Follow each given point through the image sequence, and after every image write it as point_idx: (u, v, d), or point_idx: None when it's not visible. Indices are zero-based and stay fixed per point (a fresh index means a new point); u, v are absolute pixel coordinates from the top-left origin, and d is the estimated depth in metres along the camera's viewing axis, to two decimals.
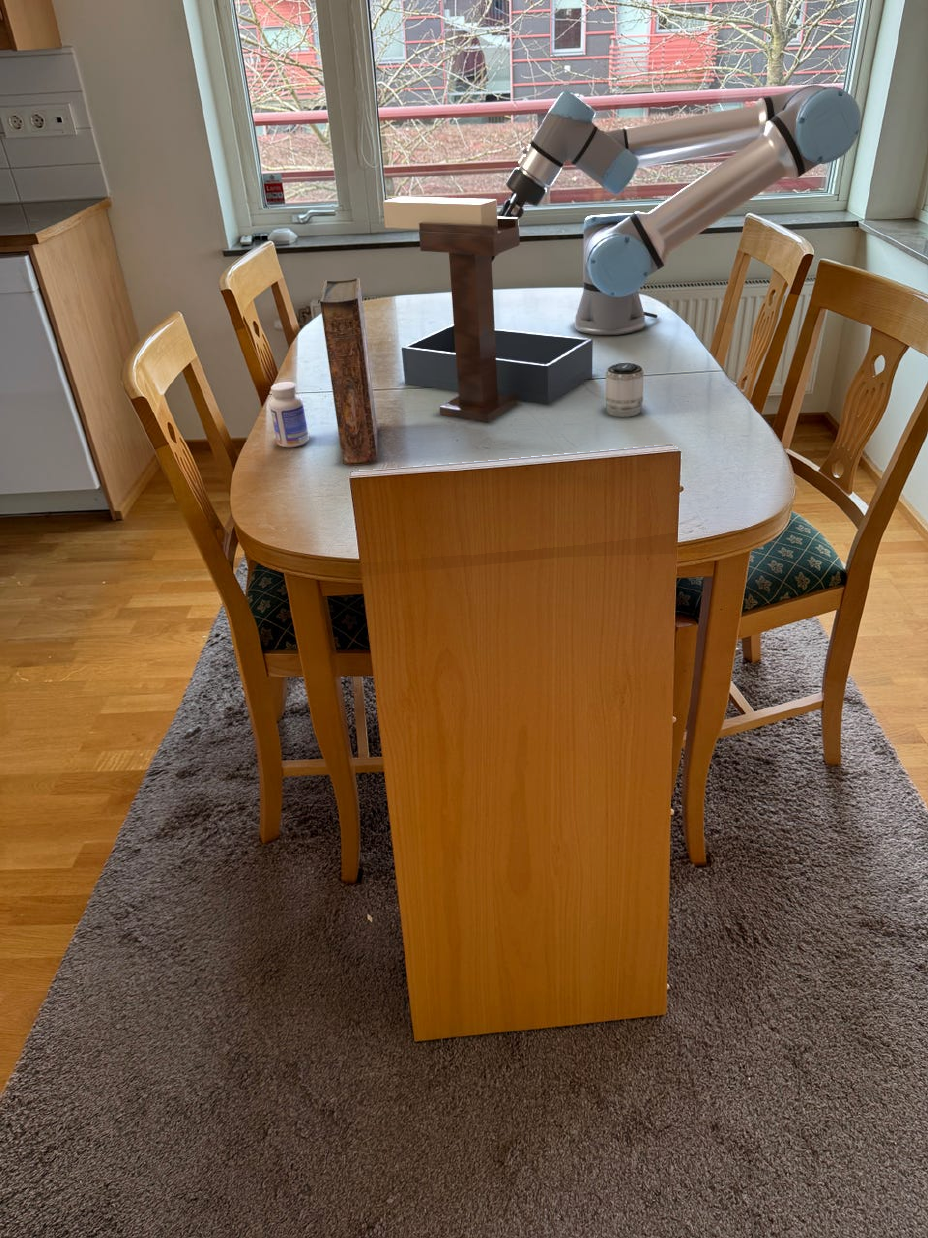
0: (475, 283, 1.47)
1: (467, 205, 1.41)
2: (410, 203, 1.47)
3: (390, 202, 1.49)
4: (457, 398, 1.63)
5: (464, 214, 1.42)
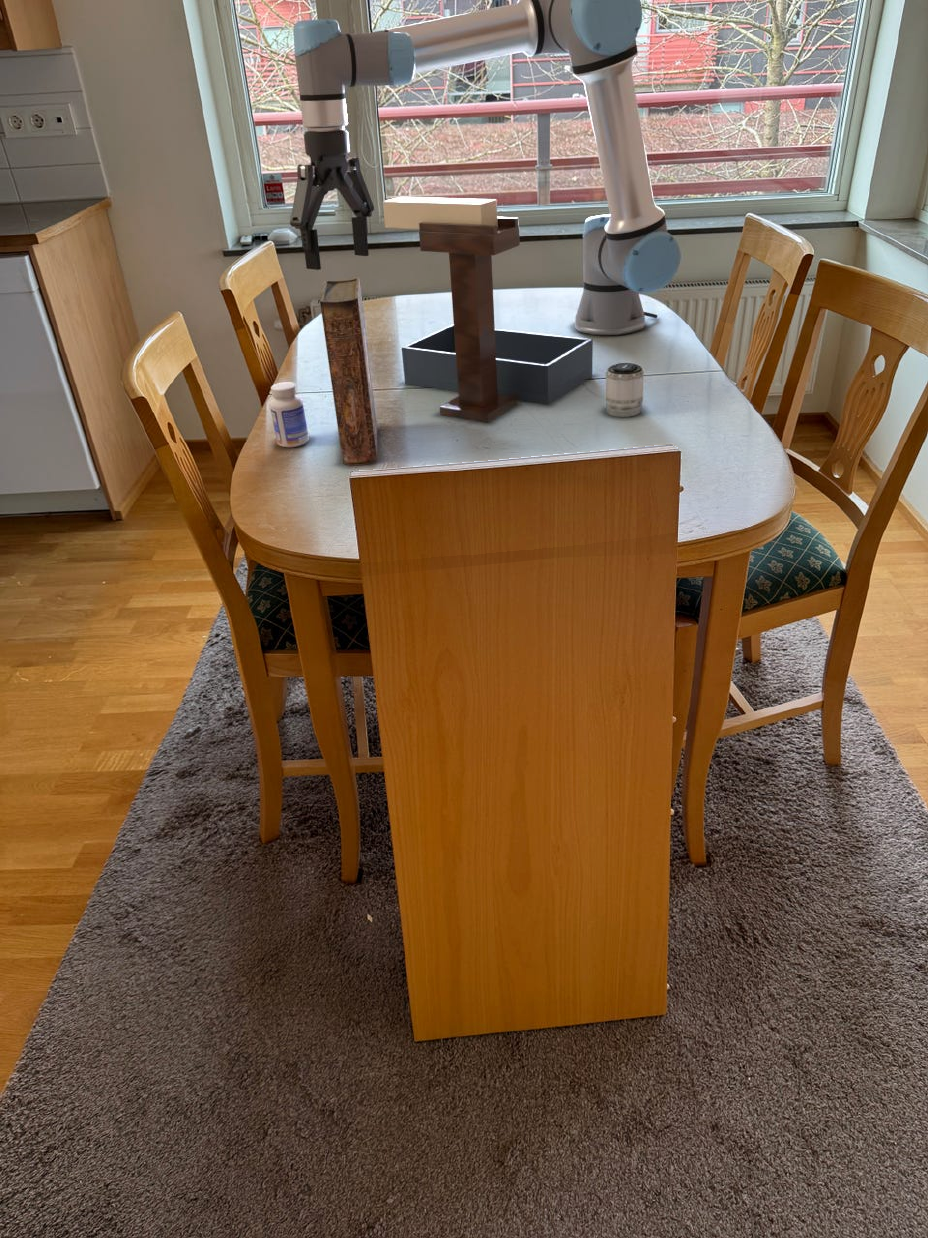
0: (475, 283, 1.47)
1: (467, 205, 1.41)
2: (410, 203, 1.47)
3: (390, 202, 1.49)
4: (457, 398, 1.63)
5: (464, 214, 1.42)
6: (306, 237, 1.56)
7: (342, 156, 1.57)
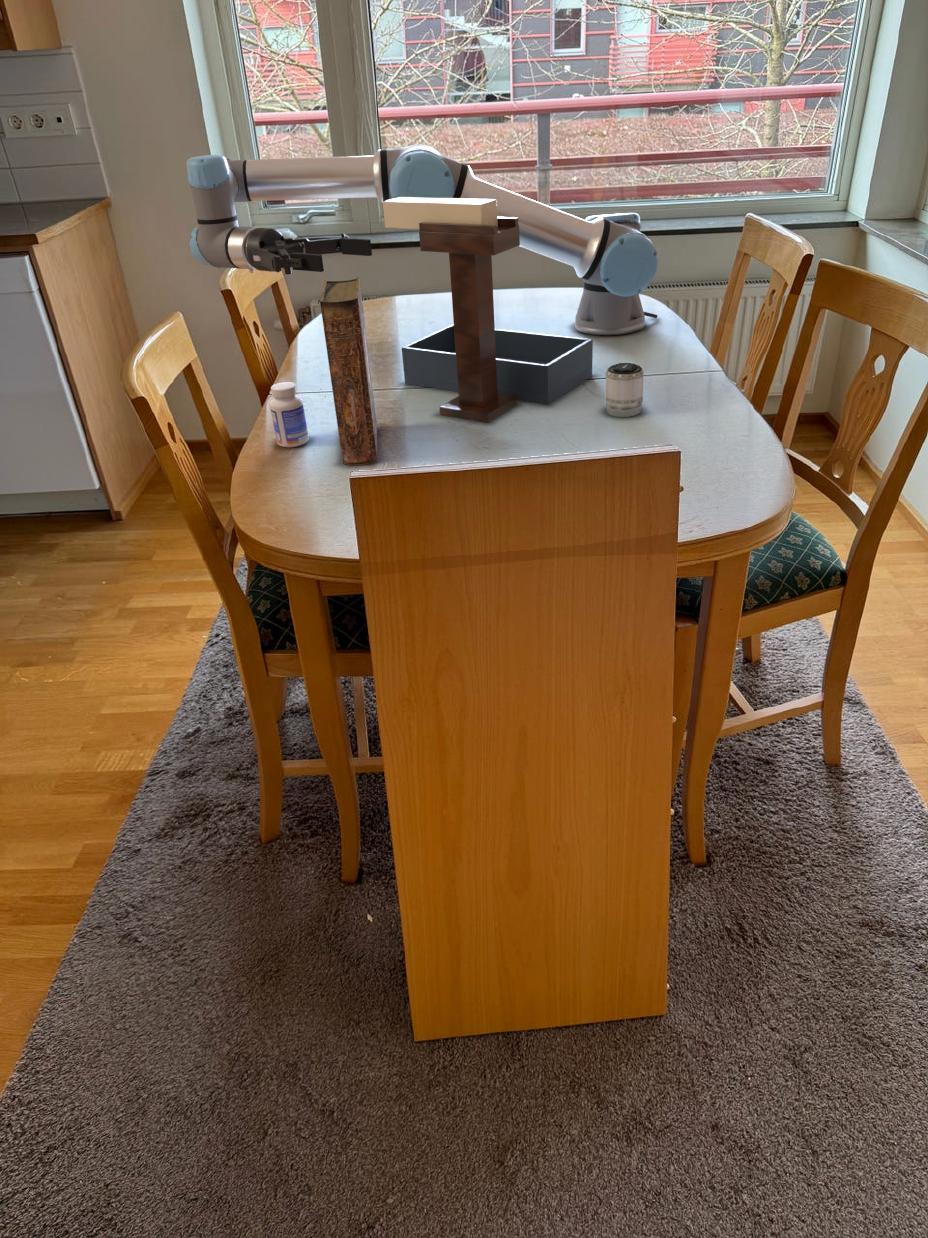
0: (475, 283, 1.47)
1: (467, 205, 1.41)
2: (410, 203, 1.47)
3: (390, 202, 1.49)
4: (457, 398, 1.63)
5: (464, 214, 1.42)
6: (291, 260, 1.58)
7: (284, 241, 1.71)
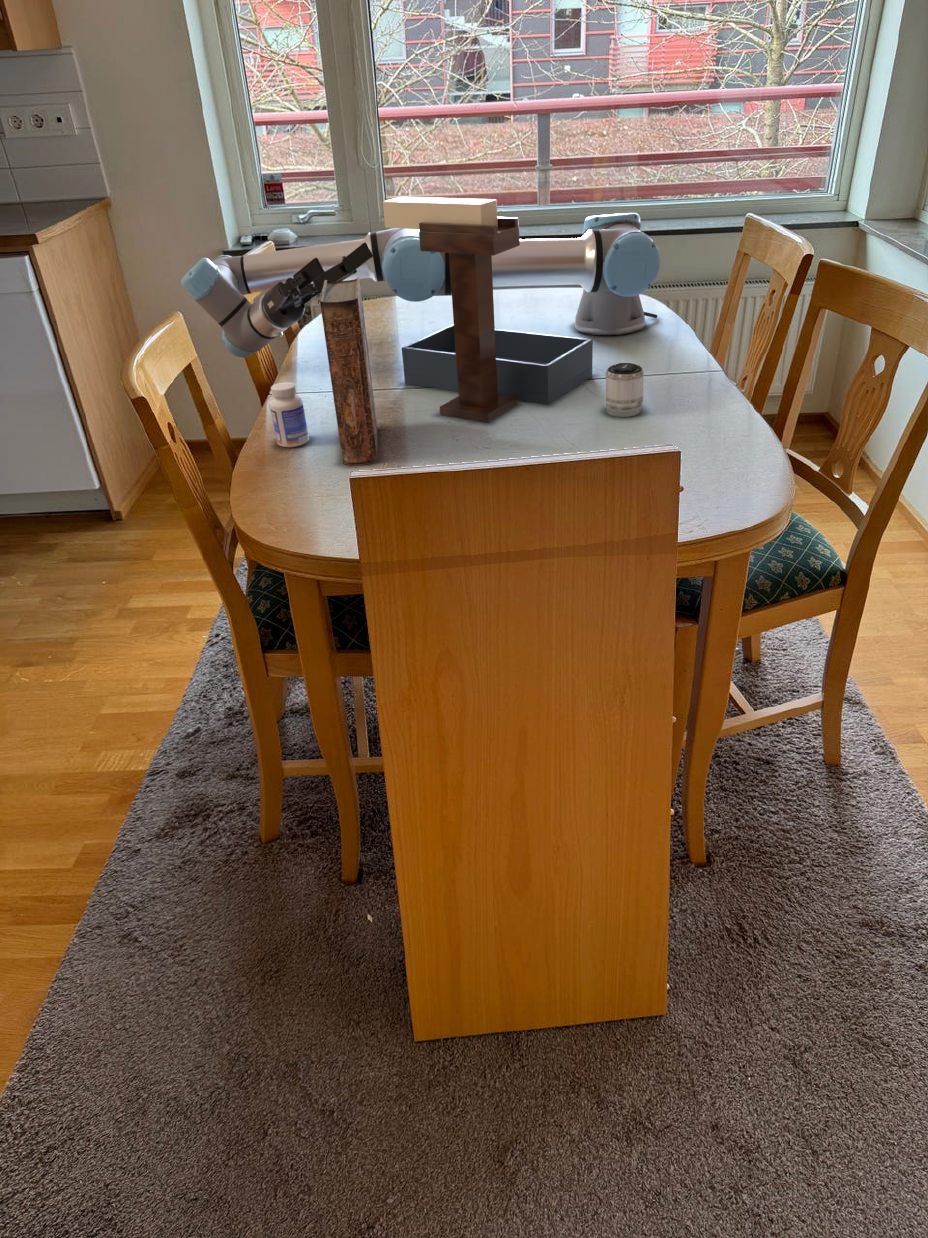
0: (475, 283, 1.47)
1: (467, 205, 1.41)
2: (410, 203, 1.47)
3: (390, 202, 1.49)
4: (457, 398, 1.63)
5: (464, 214, 1.42)
6: (294, 278, 1.60)
7: None
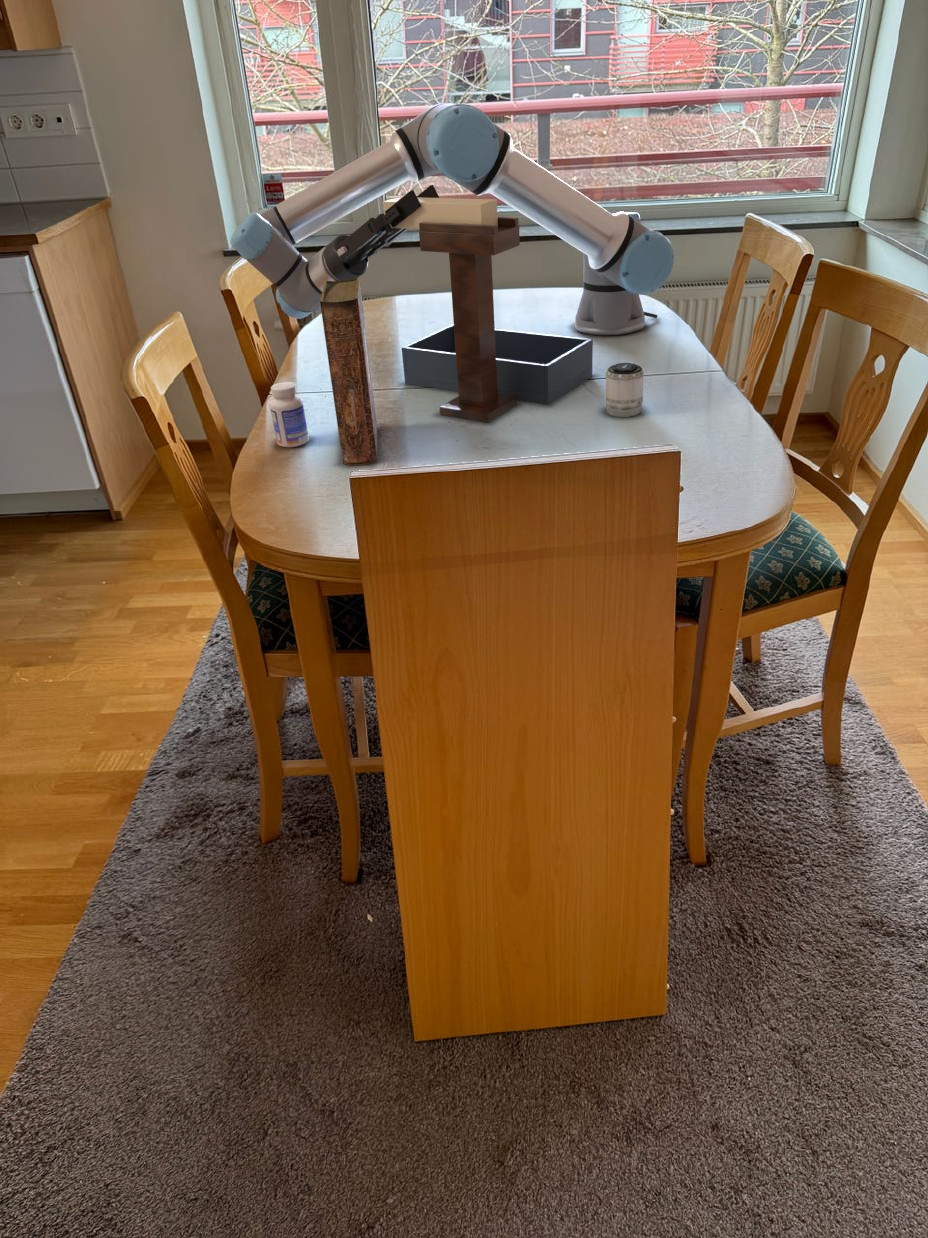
0: (475, 283, 1.47)
1: (467, 205, 1.41)
2: None
3: (390, 202, 1.49)
4: (457, 398, 1.63)
5: (464, 214, 1.42)
6: (387, 214, 1.48)
7: None
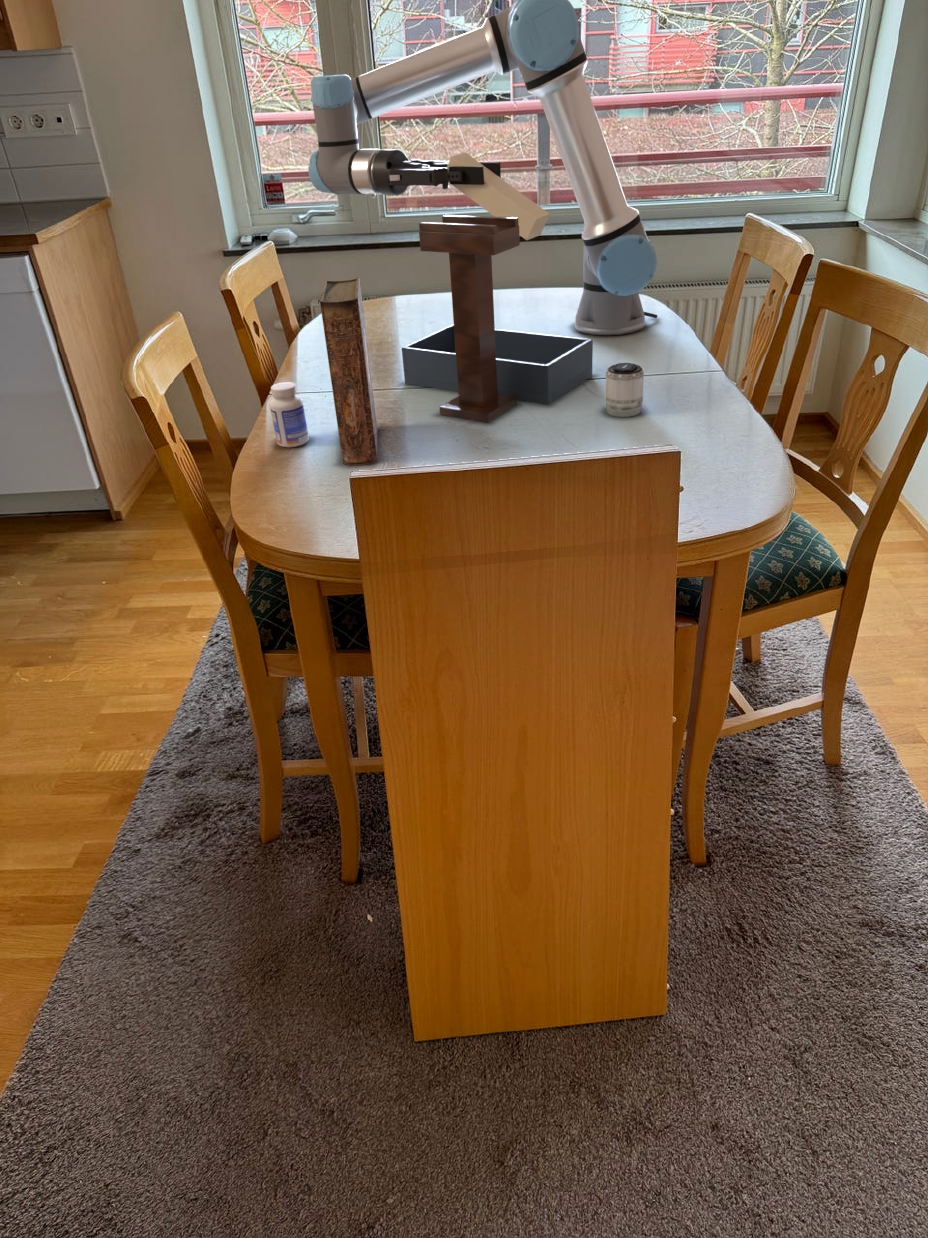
0: (475, 283, 1.47)
1: (524, 212, 1.53)
2: None
3: (457, 161, 1.56)
4: (457, 398, 1.63)
5: (518, 216, 1.54)
6: (450, 173, 1.55)
7: None
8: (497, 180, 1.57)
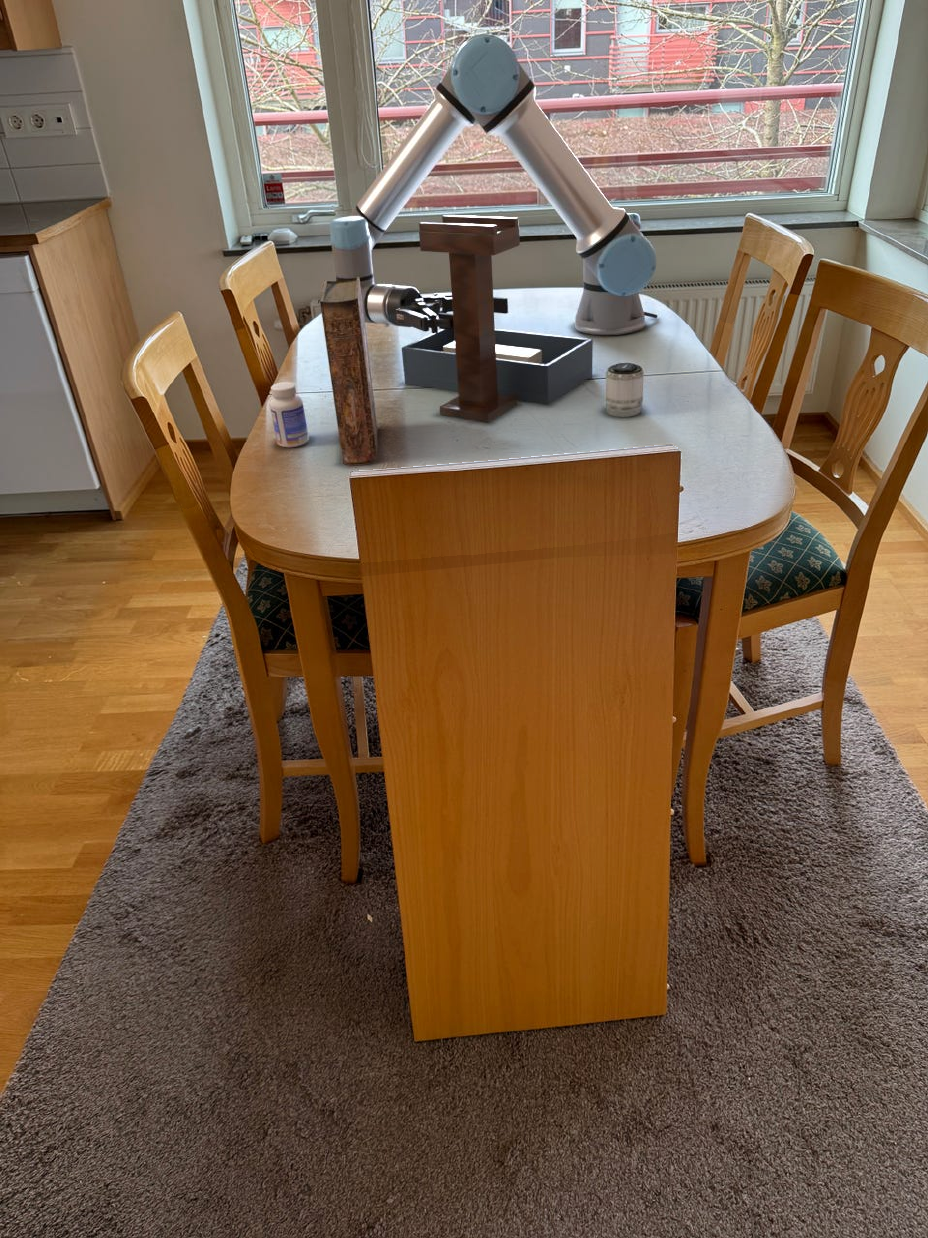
0: (475, 283, 1.47)
1: (517, 357, 1.68)
2: None
3: (449, 348, 1.75)
4: (457, 398, 1.63)
5: None
6: (439, 320, 1.66)
7: (421, 298, 1.79)
8: None
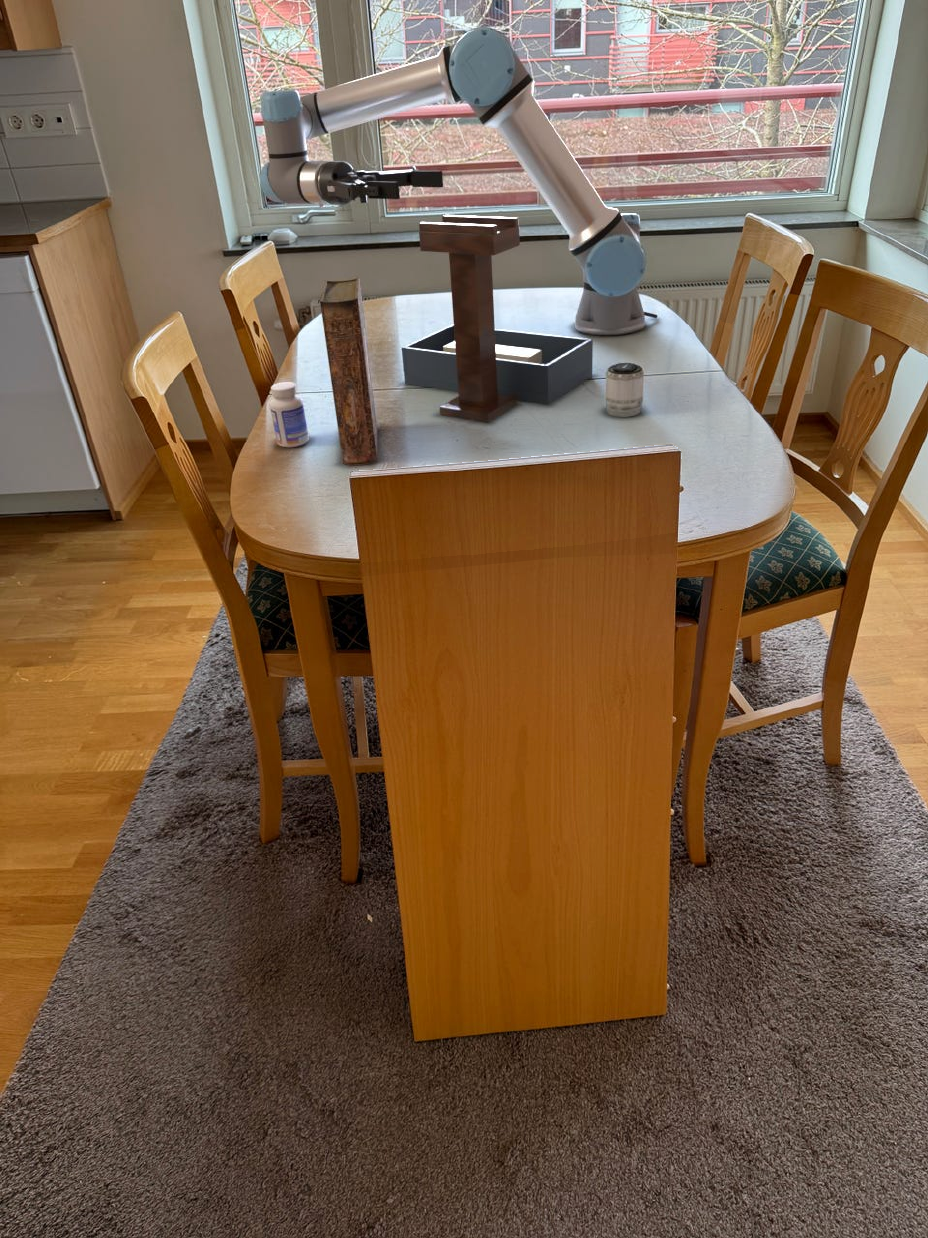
0: (475, 283, 1.47)
1: (517, 357, 1.68)
2: None
3: (449, 348, 1.75)
4: (457, 398, 1.63)
5: None
6: (367, 187, 1.61)
7: None
8: None
